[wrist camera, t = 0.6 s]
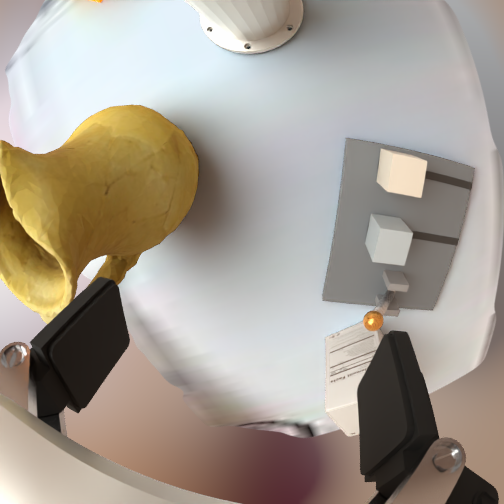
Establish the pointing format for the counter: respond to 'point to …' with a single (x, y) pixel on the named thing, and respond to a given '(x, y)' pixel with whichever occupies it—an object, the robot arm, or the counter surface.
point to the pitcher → (91, 203)
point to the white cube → (388, 239)
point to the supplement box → (347, 373)
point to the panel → (413, 215)
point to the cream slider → (401, 173)
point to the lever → (378, 312)
